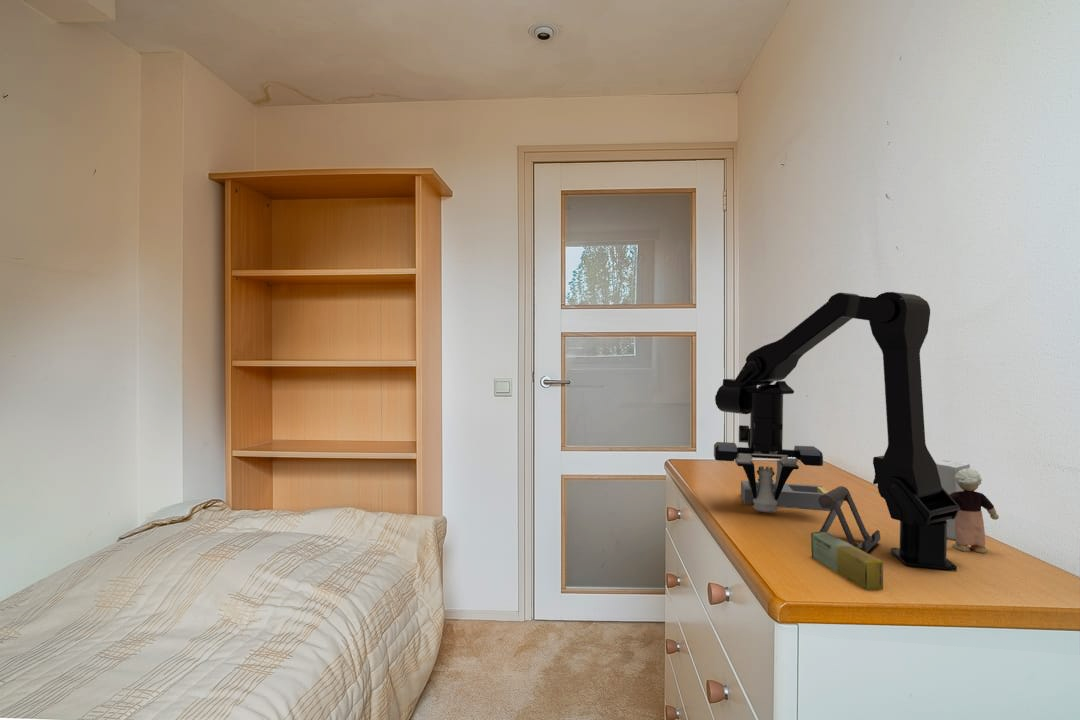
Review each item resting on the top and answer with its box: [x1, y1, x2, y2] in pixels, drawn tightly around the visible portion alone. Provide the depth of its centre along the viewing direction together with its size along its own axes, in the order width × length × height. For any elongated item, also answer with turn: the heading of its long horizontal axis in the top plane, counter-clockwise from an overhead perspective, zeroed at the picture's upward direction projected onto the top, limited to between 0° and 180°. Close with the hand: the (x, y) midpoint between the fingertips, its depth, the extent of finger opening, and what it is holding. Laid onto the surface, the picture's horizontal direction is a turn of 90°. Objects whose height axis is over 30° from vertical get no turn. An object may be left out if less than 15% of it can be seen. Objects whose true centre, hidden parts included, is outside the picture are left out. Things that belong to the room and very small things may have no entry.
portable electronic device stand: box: [819, 486, 881, 553], centre depth 89 cm, size 9×8×8 cm
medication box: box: [810, 531, 884, 591], centre depth 78 cm, size 12×3×4 cm, turn 7°
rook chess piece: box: [752, 465, 779, 513], centre depth 106 cm, size 4×4×8 cm
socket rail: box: [740, 480, 830, 511], centre depth 115 cm, size 8×16×3 cm, turn 76°
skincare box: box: [935, 460, 971, 541], centre depth 95 cm, size 6×4×12 cm
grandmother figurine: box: [950, 467, 1000, 554], centre depth 88 cm, size 8×4×13 cm, turn 84°
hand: (765, 498), depth 106 cm, fingers closed on rook chess piece, 3 cm apart
